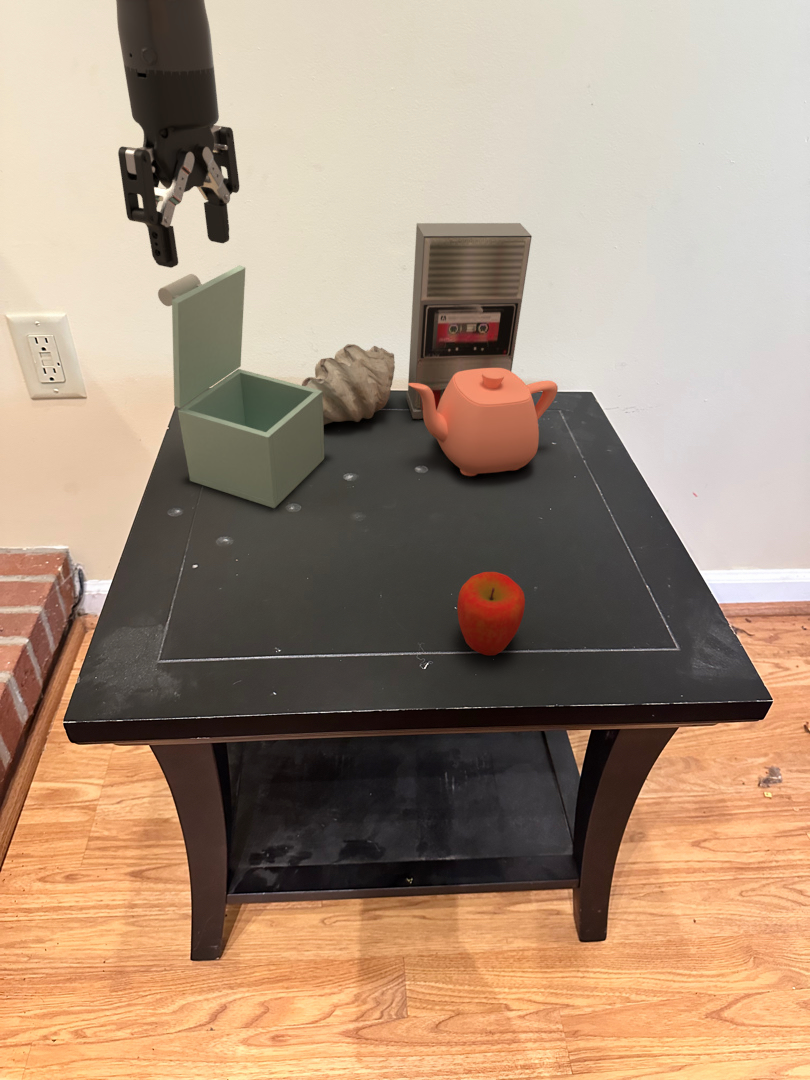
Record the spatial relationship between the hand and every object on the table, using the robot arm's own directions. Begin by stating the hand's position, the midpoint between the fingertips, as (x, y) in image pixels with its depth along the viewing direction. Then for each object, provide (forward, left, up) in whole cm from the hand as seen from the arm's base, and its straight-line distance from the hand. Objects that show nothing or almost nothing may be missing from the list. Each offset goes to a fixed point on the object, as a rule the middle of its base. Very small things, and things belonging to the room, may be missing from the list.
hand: (194, 253), depth 73 cm
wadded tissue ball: (+20, -6, -28) cm, 35 cm away
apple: (-12, -38, -28) cm, 49 cm away
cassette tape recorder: (+30, -19, -28) cm, 45 cm away
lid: (+3, +2, -11) cm, 11 cm away
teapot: (+19, -26, -28) cm, 43 cm away
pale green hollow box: (+3, -3, -27) cm, 28 cm away
